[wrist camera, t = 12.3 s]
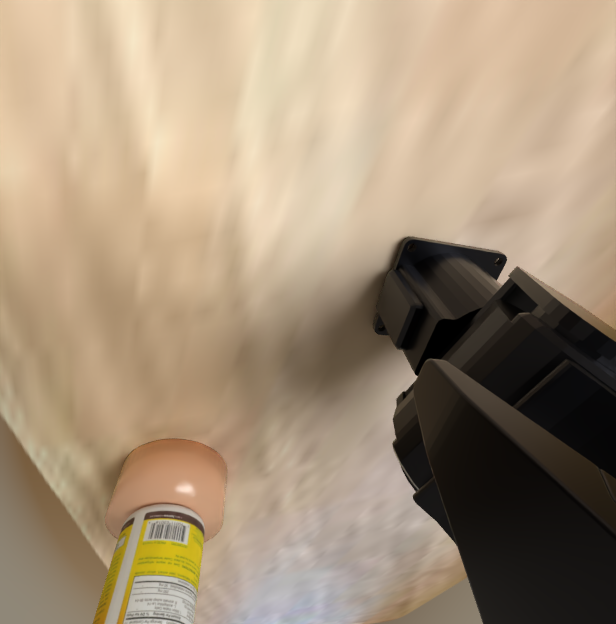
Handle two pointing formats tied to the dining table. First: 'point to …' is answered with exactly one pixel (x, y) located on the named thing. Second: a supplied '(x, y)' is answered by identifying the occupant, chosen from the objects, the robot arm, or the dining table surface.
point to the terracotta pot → (171, 483)
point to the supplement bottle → (154, 568)
